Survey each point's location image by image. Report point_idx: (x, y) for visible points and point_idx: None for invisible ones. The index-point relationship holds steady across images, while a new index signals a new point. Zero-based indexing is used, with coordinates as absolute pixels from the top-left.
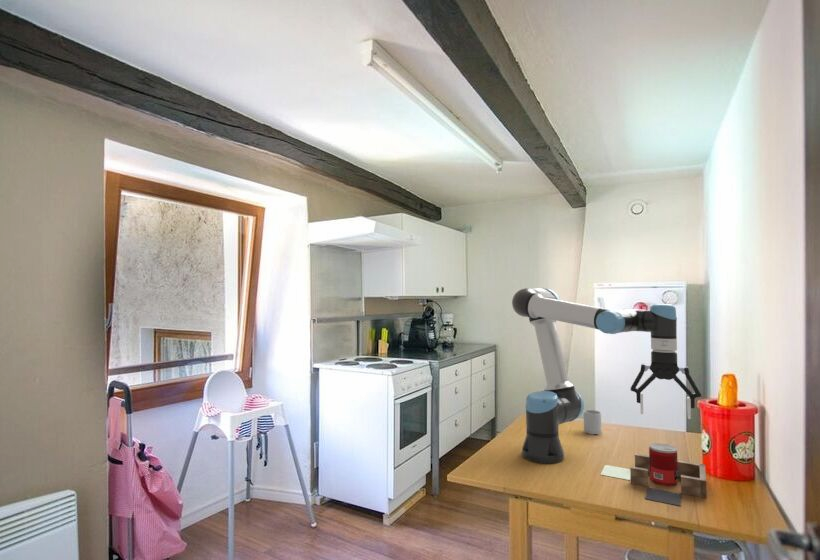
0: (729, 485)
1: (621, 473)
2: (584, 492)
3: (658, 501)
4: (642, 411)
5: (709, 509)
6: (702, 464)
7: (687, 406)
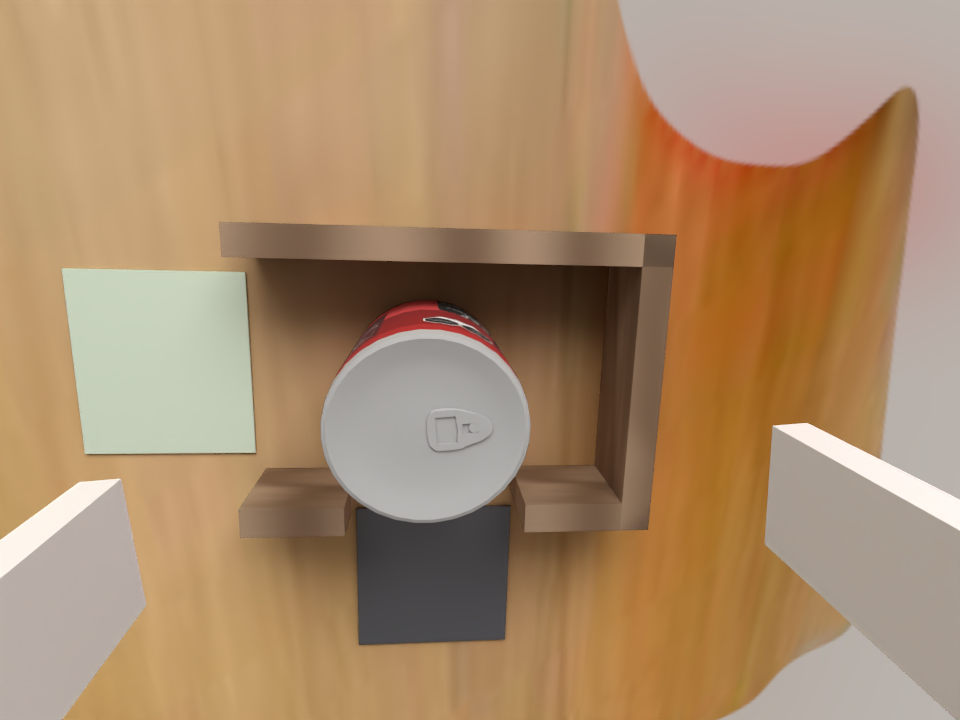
0: (748, 250)
1: (192, 374)
2: (86, 715)
3: (415, 640)
4: (114, 632)
5: (615, 604)
6: (663, 235)
7: (906, 546)
